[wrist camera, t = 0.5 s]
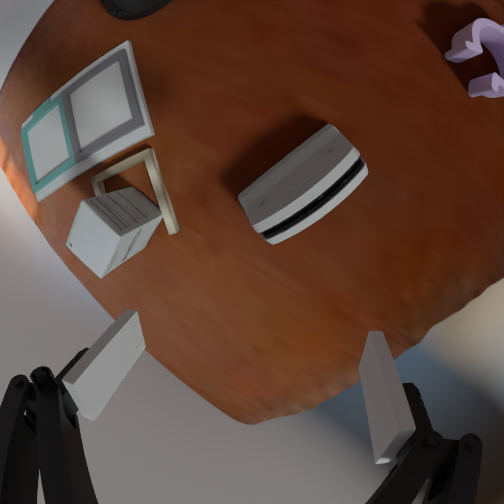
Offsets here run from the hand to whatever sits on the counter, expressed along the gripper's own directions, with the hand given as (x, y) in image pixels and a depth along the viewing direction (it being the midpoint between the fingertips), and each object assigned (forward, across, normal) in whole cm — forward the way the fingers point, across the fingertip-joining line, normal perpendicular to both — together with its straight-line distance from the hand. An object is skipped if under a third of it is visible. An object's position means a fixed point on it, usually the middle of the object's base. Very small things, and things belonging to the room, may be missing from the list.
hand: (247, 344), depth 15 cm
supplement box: (+26, -21, +1) cm, 34 cm away
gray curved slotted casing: (+26, +3, +6) cm, 27 cm away
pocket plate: (+26, -35, +17) cm, 47 cm away
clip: (+26, +36, +32) cm, 55 cm away
